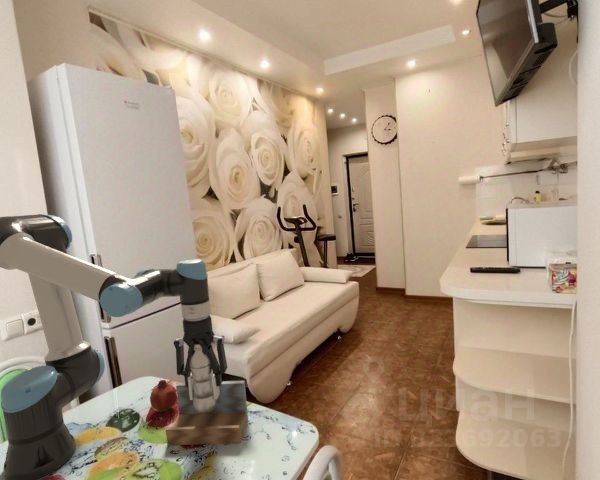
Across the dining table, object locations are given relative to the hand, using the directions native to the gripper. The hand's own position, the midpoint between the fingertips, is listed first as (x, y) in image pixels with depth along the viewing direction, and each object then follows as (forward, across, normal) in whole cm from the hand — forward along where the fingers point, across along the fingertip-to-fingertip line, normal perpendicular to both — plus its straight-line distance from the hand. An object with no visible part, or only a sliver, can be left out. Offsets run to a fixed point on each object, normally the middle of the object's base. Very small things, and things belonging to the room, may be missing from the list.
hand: (205, 396), depth 97 cm
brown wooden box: (+11, 0, 0) cm, 11 cm away
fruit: (+11, -18, +12) cm, 24 cm away
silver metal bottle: (+4, 0, 0) cm, 4 cm away
